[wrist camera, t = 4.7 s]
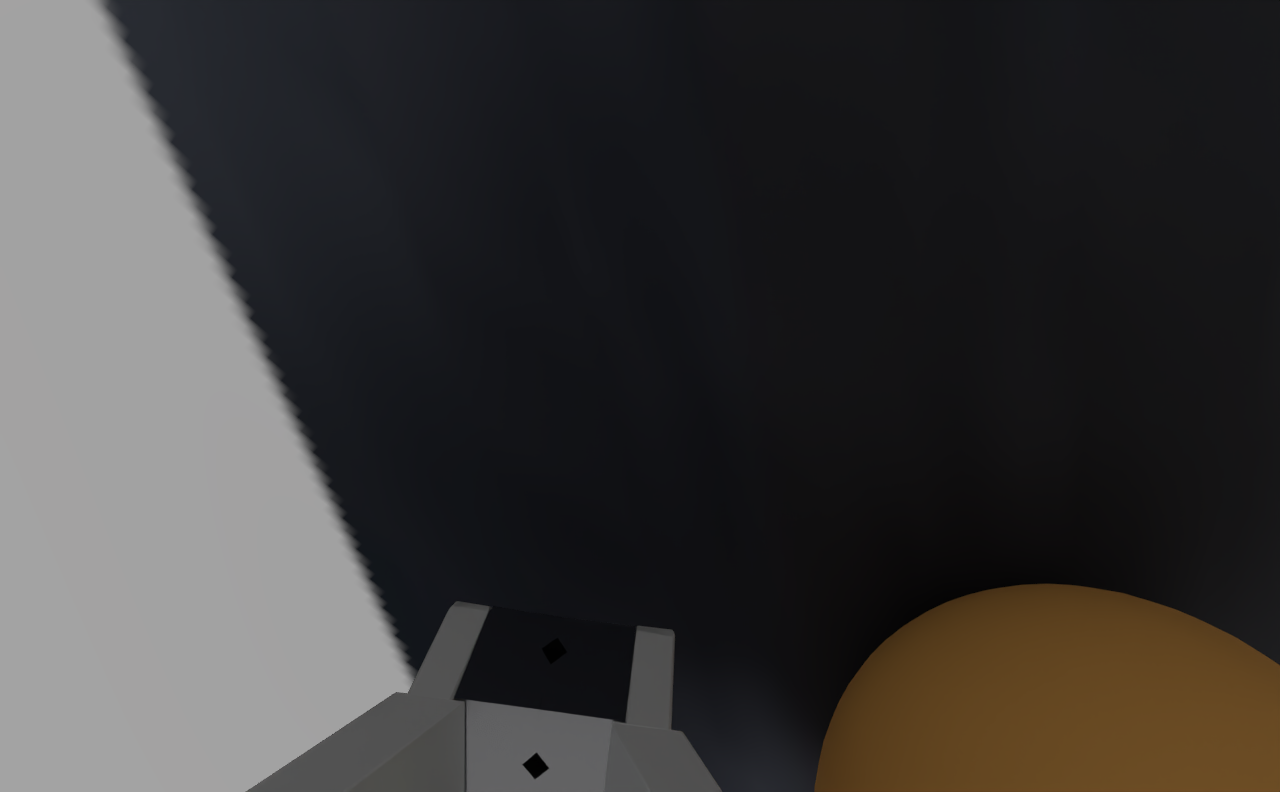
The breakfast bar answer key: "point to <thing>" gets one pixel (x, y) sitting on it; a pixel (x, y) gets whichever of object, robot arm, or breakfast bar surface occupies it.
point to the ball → (1056, 701)
